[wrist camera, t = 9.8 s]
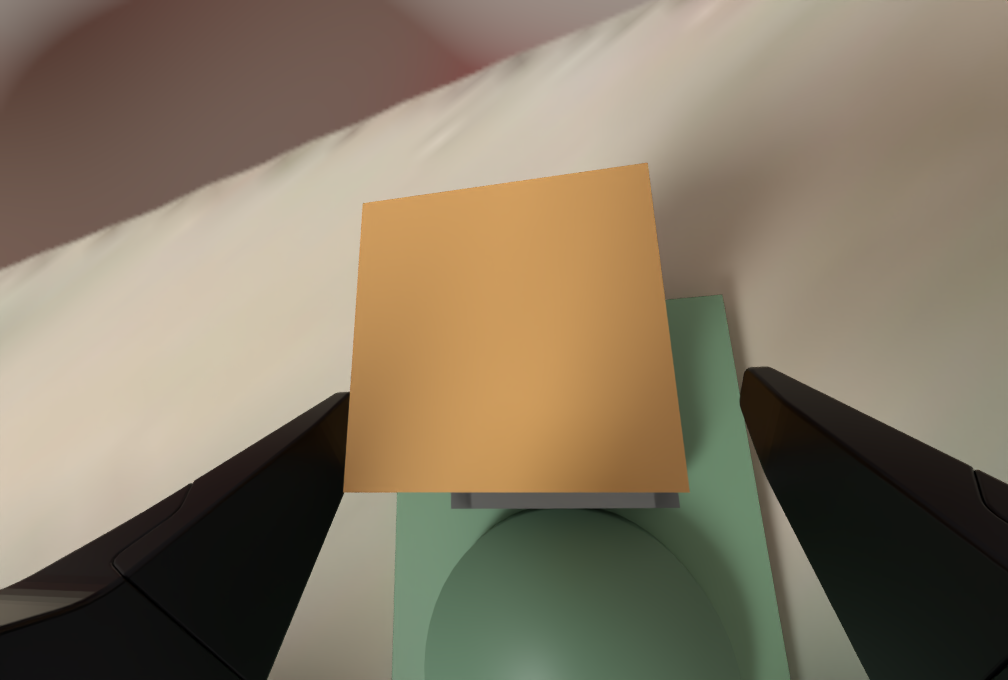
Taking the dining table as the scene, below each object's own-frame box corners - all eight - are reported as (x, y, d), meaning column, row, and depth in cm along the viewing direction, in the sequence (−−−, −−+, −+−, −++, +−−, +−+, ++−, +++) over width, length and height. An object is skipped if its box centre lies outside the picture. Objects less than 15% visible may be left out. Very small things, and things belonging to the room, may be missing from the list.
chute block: (613, 451, 17) (690, 492, 5) (506, 453, 18) (343, 492, 6) (604, 341, 18) (646, 153, 6) (503, 348, 19) (363, 195, 7)
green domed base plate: (810, 857, 13) (885, 997, 10) (399, 801, 16) (351, 896, 13) (714, 301, 18) (744, 272, 15) (410, 329, 21) (377, 308, 18)
